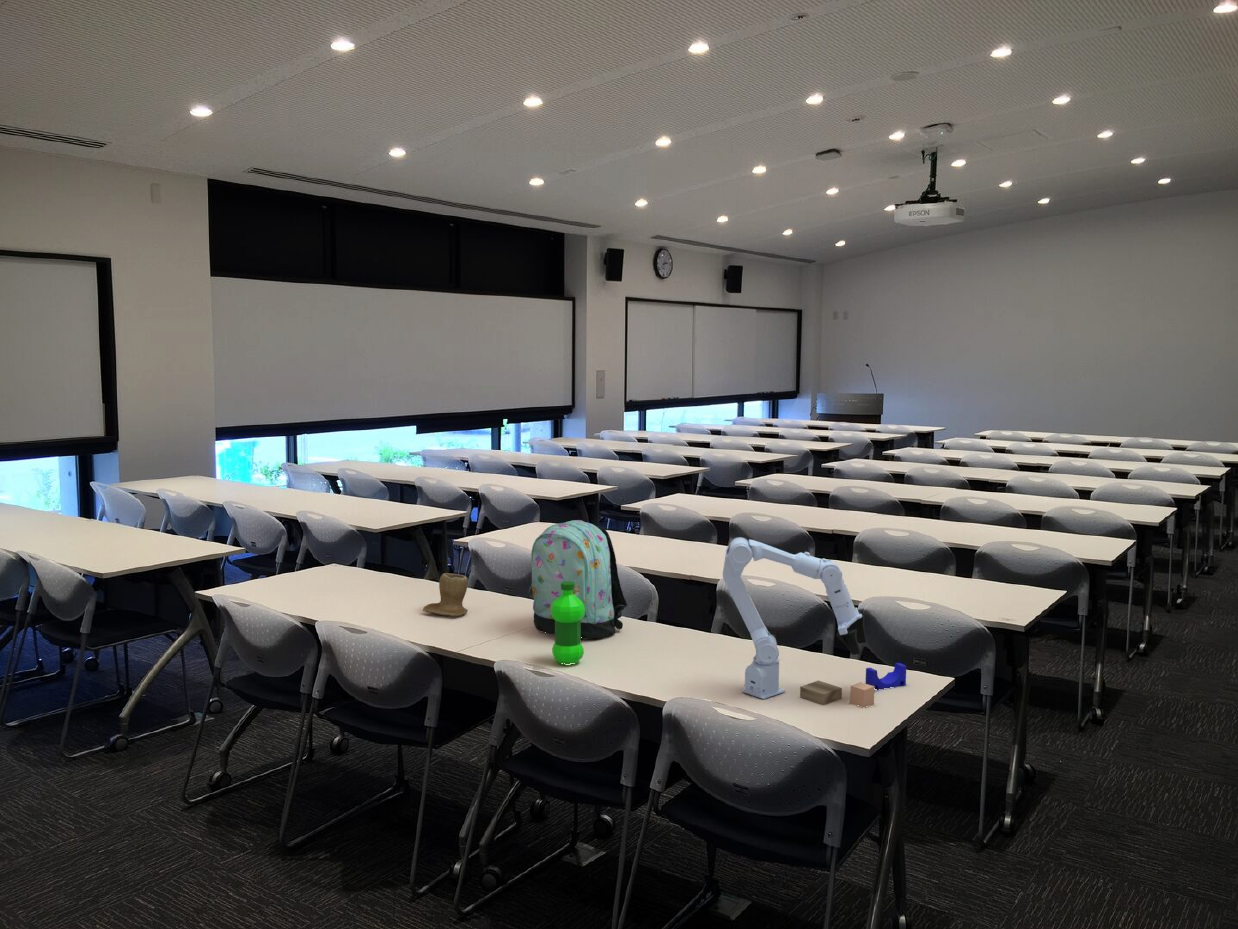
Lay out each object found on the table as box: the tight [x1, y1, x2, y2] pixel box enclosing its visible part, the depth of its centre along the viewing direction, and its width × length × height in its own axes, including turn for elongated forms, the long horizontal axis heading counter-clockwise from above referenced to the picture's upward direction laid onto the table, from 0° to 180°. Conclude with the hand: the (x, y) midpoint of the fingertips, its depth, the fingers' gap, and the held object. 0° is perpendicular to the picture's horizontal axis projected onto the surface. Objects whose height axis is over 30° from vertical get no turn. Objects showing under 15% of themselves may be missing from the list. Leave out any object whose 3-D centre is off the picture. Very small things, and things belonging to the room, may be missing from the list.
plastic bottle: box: [551, 582, 585, 664], centre depth 290 cm, size 10×10×25 cm
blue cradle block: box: [864, 662, 907, 691], centre depth 271 cm, size 12×4×6 cm, turn 114°
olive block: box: [799, 680, 843, 706], centre depth 262 cm, size 8×8×3 cm
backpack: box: [527, 519, 628, 640], centre depth 321 cm, size 32×24×39 cm
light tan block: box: [849, 681, 875, 708], centre depth 257 cm, size 4×4×5 cm
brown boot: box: [422, 572, 469, 617], centre depth 346 cm, size 15×12×15 cm
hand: (859, 648), depth 262 cm, fingers open, 7 cm apart
